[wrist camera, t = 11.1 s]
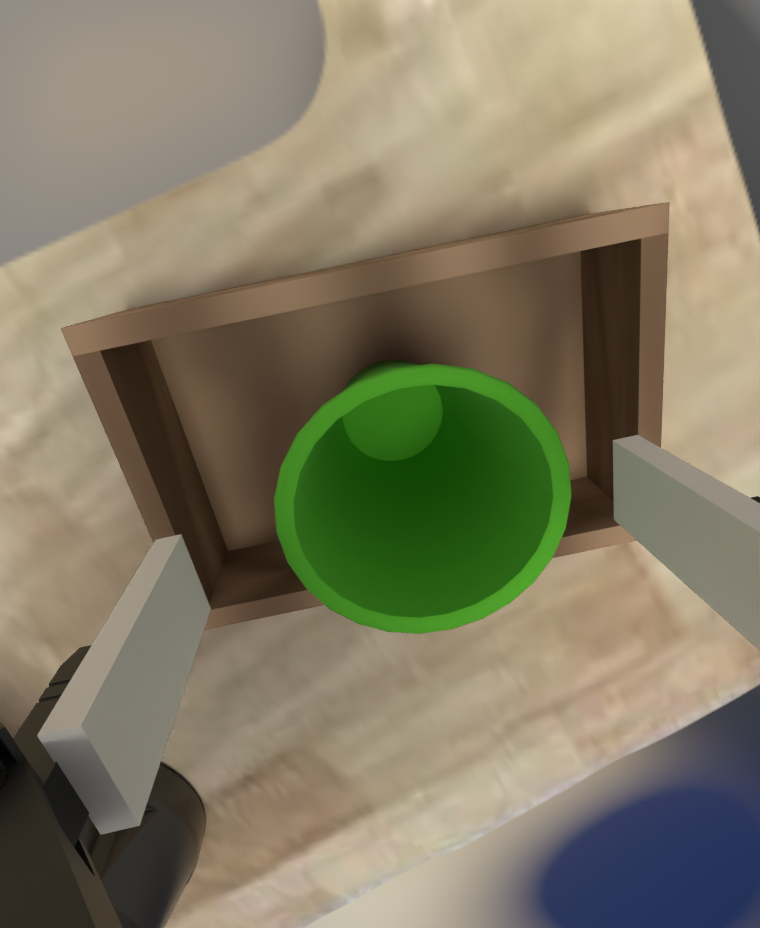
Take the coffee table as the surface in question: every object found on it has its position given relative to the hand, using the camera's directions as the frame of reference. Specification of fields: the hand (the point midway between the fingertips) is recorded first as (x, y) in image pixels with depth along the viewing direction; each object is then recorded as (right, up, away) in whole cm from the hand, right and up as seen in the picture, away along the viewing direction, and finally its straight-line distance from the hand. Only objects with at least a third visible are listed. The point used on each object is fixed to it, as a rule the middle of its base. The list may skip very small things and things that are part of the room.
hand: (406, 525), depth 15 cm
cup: (0, +5, +10) cm, 11 cm away
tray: (0, +5, +11) cm, 12 cm away
